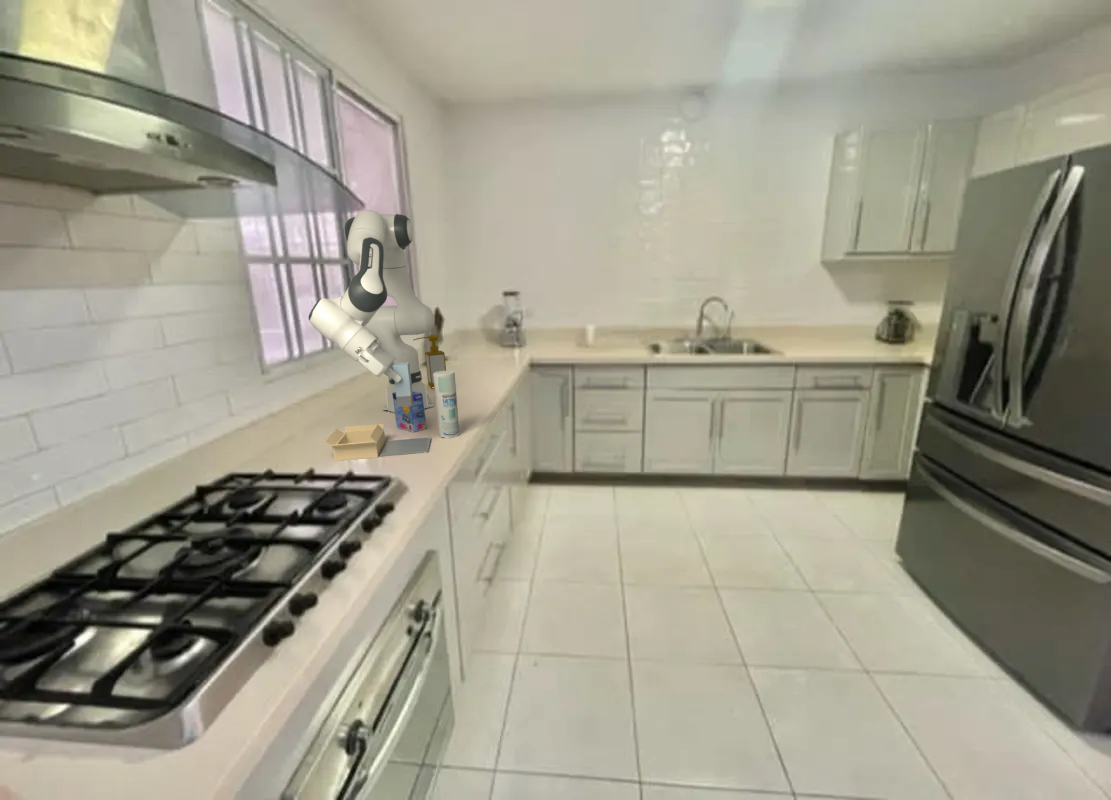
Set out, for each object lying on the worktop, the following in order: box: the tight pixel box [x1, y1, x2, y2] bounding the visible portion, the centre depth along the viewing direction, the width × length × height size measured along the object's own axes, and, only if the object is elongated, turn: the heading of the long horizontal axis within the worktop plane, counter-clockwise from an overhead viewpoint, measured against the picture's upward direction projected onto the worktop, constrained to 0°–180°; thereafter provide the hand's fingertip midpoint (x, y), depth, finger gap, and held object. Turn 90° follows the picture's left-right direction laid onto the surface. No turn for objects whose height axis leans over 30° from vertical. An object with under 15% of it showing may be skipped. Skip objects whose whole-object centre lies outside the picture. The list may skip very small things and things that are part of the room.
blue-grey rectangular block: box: [393, 362, 414, 407], centre depth 155 cm, size 5×4×12 cm
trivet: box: [379, 436, 432, 457], centre depth 159 cm, size 13×13×1 cm
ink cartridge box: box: [392, 392, 427, 432], centre depth 178 cm, size 10×6×14 cm, turn 51°
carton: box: [324, 423, 386, 462], centre depth 157 cm, size 19×14×6 cm
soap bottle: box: [412, 334, 447, 388], centre depth 243 cm, size 7×13×24 cm, turn 115°
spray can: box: [433, 370, 460, 438], centre depth 167 cm, size 6×6×20 cm
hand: (401, 377), depth 155 cm, fingers closed on blue-grey rectangular block, 5 cm apart
